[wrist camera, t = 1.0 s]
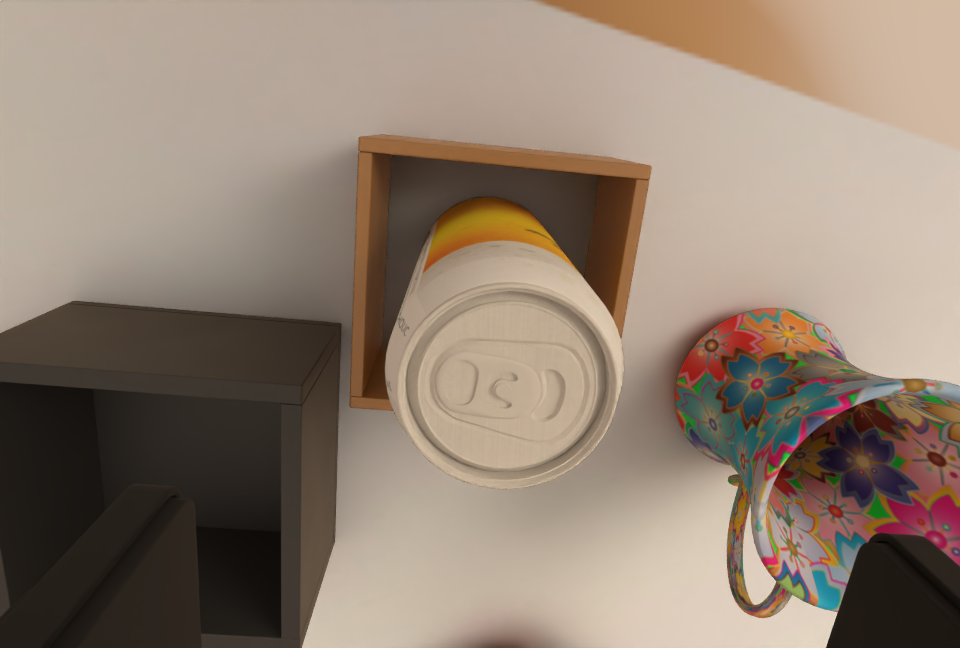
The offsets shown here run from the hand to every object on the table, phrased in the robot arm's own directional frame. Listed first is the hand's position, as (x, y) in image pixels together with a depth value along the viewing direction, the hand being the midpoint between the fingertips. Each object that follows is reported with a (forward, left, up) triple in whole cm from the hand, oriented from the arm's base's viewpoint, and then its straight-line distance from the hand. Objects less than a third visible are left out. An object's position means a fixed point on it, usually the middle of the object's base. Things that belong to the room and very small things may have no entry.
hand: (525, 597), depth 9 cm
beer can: (0, 0, -22) cm, 22 cm away
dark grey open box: (+10, -13, -21) cm, 27 cm away
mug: (+6, +14, -22) cm, 26 cm away
